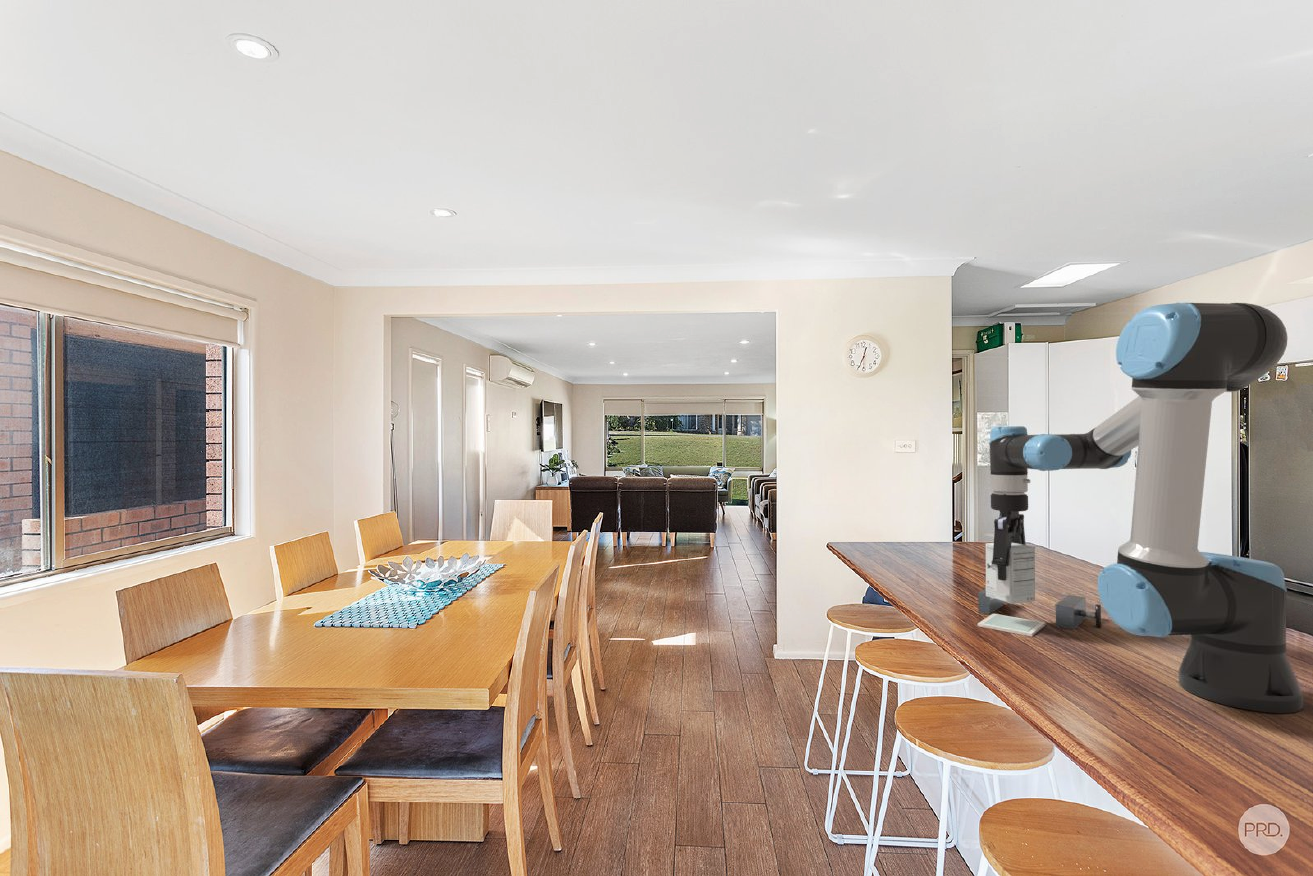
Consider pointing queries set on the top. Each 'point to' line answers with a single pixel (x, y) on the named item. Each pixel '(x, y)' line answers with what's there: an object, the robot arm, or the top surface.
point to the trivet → (1012, 624)
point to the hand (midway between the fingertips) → (1010, 589)
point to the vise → (1067, 609)
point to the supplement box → (1013, 574)
